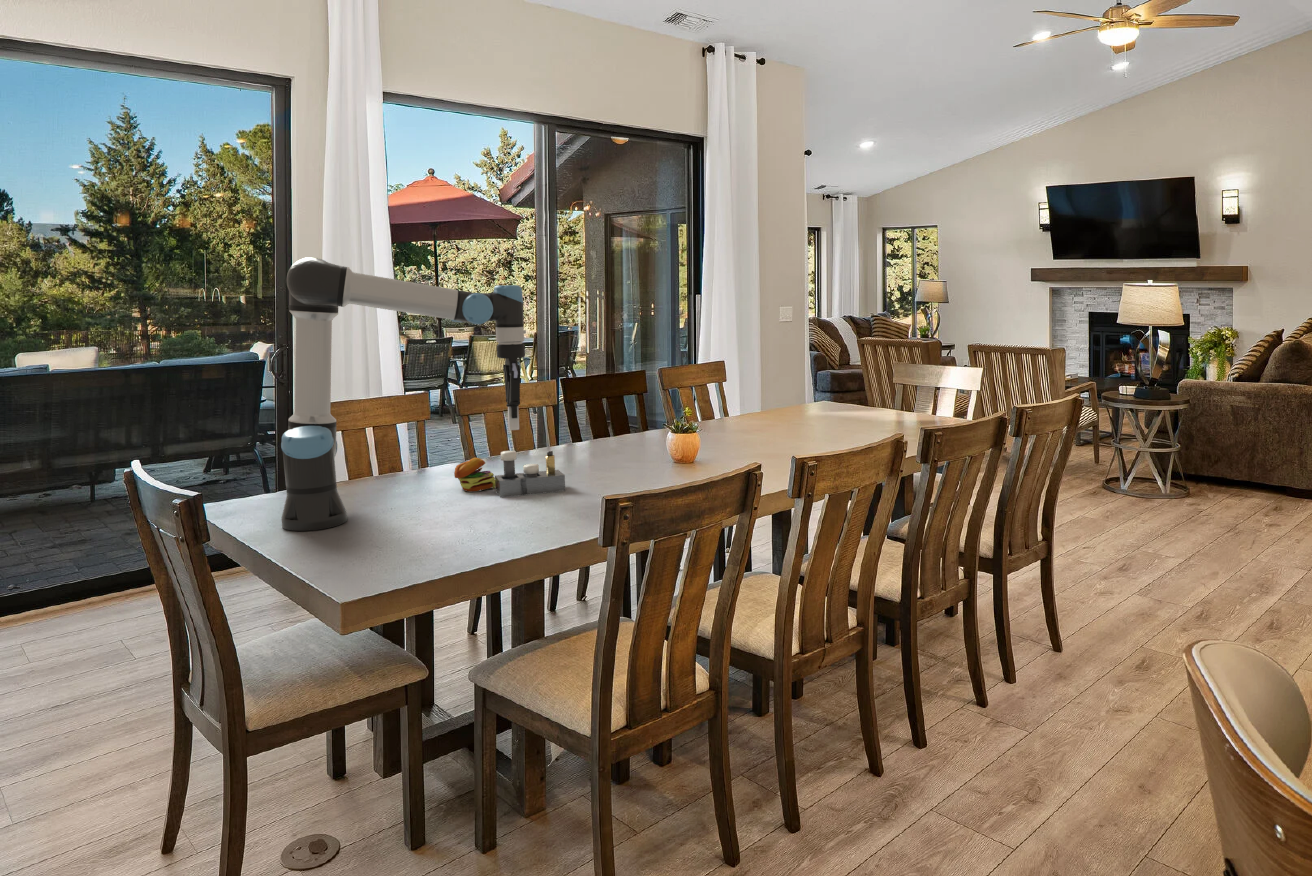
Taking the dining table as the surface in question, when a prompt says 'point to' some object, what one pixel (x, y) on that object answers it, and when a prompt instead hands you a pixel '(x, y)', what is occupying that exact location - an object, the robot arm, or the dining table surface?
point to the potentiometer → (550, 463)
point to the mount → (529, 484)
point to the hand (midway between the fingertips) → (514, 429)
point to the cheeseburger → (474, 476)
